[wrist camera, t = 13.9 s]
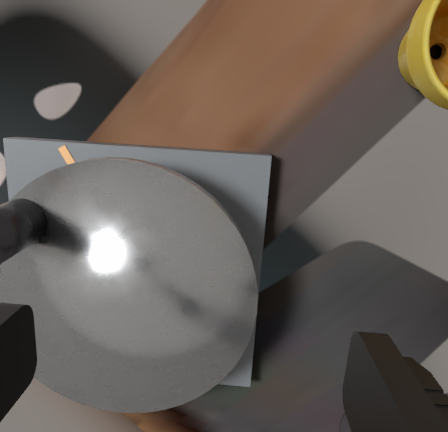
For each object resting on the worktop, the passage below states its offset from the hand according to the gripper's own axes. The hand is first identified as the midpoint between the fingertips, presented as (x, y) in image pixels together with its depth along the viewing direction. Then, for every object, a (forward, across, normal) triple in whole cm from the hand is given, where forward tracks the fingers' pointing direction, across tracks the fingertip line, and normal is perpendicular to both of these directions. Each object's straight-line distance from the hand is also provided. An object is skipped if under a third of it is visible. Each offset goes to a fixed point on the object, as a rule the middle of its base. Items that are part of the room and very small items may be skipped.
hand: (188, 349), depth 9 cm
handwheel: (+24, +9, +11) cm, 28 cm away
